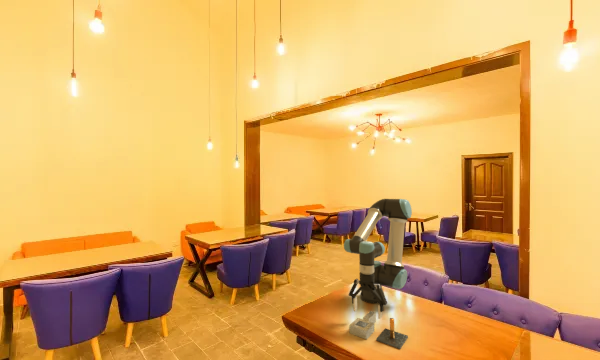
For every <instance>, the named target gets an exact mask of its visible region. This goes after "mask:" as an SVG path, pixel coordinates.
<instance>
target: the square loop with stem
mask: <svg viewBox="0 0 600 360" xmlns="http://www.w3.org/2000/svg"><path fill="white" fill-rule="evenodd" d="M376 323H377V313H376V311H372V310H370V311H368V312H367V313H366V314H365V315H364V316H363V317H362V318H359V317H356V318H355V320H354V321H352V322H351V323H350V324H349V334H351V335H353V336H356V337H359V338H361V339H364V340H368V339H369V338H370V337H371V336H372V334H374V333H375V324H376Z"/></svg>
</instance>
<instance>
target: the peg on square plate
mask: <svg viewBox="0 0 600 360" xmlns="http://www.w3.org/2000/svg"><path fill="white" fill-rule="evenodd" d="M408 336H409V335H406V334H404V333H401V332H398V331H395V318H394V317H390V318H389V329H388V328H384V329H383V330H381V332H380V333H379V334H378V336H377V337H376V339H375V340H376V341H377V342H379V343H383V344H385V345H388V346H390V347H393V348H394V349H395V348H396V349H399V350H401V349H402V347H403V345H405V343H406V341H407V340H408V339H409V337H408Z"/></svg>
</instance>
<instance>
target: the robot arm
mask: <svg viewBox="0 0 600 360" xmlns="http://www.w3.org/2000/svg"><path fill="white" fill-rule="evenodd" d="M412 210H413V209H412V206H411V203H410V201H409V200H407V199H403V198H382V199H379V200H377V201H376V202H374V203H373V204H372V205H371V206H370V207H369V209H368V210H367V215H366V216H365V218H364V219H363V221H362V223H361V224H360V225H359V227H358V229H357V230H356V232H355V233H354V235H353V236H352V237H351V238H347V239H345V241H344V243H343V248H344V251H345V252H347V253H350V254H356V255H359V259H358V260H359V279H358V278H356V279H353V284H352V286H351V289H350V291H349V292H348V296H349V297H351V303H352V304H353V311H354V312H356V311H357V310H358V294H359V293H360V300H361V301H363V302H366V303H368V304H378V305H377V309H378V311H377V312H378V313H377V314H378V315H377V316H378V318H377V319H379V320H381V318H382V317H383V312H384V306H386V305H387V304H388V301H387V299H386V295H385V293H384V289H383V286H384V287H389V288H392V289H399V290H401V289H403V288H404V287H405V285H406V283H407V279H408V271H407V269H405V265H404V264H403V254H404V253H403V252H404V250H403V249H404V238H405V228H406V227H405V225H406V223H407V222H408V221H409V220H408V219H411V217H412V215H413V214H412V212H413V211H412ZM384 217H388V218H387V220H388V221H389V222H390V223H389V234H388V246H387V258H386V261H384V264H382V262H381V261H380V260H379V261H378V260H375V259H376V258H379V257H382V255H383V254H385V251H386V247H385V245H384V244H383V243H382V242H380V241H374V242H372V241H368V238H369V237H370V235H371V233H372V231H373V230H374V229H375V226H376V225H377V223H378V222H379V221H380V220H381V219H382V218H384ZM358 284H359V287H358ZM357 287H358V289H357V290H356V288H357ZM355 290H356V291H355Z"/></svg>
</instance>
